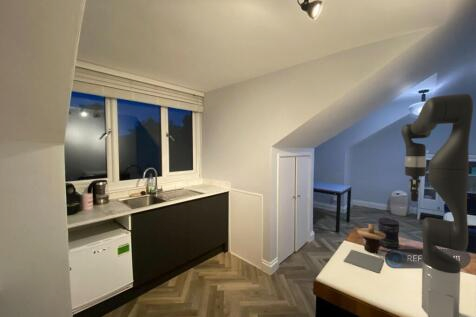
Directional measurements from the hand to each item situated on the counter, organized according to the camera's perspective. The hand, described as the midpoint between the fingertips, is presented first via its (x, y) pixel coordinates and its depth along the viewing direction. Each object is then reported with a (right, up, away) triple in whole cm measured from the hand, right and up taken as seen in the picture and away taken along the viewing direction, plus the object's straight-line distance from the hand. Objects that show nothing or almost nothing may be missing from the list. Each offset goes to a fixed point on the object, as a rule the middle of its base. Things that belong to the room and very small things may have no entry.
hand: (414, 199), depth 95 cm
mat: (-20, -33, +8) cm, 39 cm away
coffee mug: (-10, -33, +16) cm, 38 cm away
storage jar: (+4, -32, +22) cm, 39 cm away
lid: (-10, -23, +16) cm, 29 cm away
